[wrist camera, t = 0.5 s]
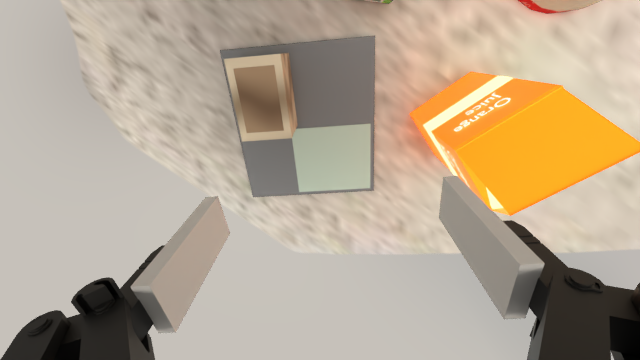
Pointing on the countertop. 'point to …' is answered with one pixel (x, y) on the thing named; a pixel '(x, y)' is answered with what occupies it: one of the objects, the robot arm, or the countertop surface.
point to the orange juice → (518, 138)
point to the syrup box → (382, 0)
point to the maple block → (263, 96)
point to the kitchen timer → (557, 5)
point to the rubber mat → (319, 121)
